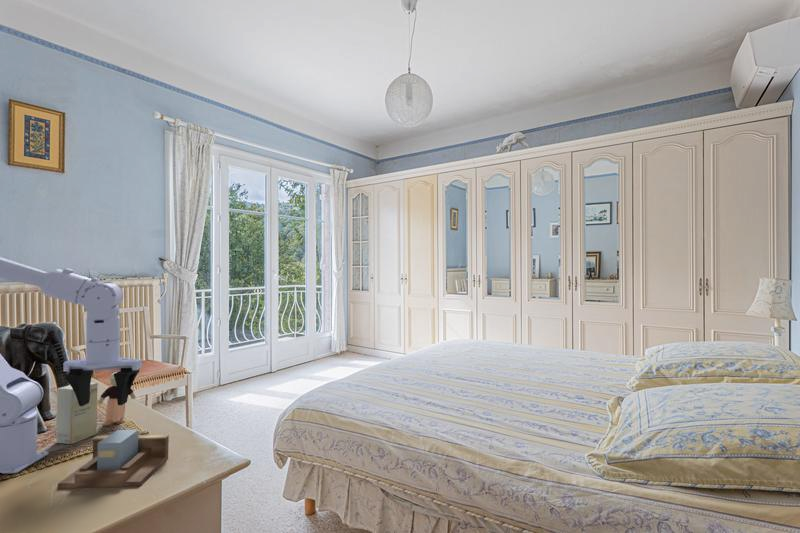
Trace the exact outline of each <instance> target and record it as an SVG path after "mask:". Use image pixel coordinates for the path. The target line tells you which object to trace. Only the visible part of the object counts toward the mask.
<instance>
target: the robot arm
mask: <svg viewBox="0 0 800 533" xmlns="http://www.w3.org/2000/svg"><path fill="white" fill-rule="evenodd" d="M74 272H75V271H74V269H71V268H63V269H61V268H57V269H53V270H52V271H48V272H47V271H45V270H41V269H40V268H39V269H38V268H35V267H32V266H30V265H26V264H24V263H20V262H17V261H14V260H10V259H9V258H8V259H7V258H6V257H2V256H0V278H2V279H6V280H9V281H14V282H18V283H21V284H25V285H30V286H35V287H37V288H39V290H40V291H41V292H42V293H43V295H44V296H46V297H50V298H54V299H58V300H61V301H64V302H67V303H71V304H75V305H79V306H83V307H84V308H85V309H86V319H85V320H86V332H85V333H86V339H85V340H86V341H85V342H86V344H85V345H86V346H85V347H86V348H85V349H86V351H85V352H86V353H85V355H86V357H85V358H86V359H73V360H72V359H70V360H67V361H64V362H63V364H62V365H63V372H68V373H66V374H65V375H64V379H65V381H66V382H67V383H68V385H71V387H72V388H73V390H74V392H75V395H76V397H77V400H78V403H79V406H84V405H86V404H88V403H89V401H90V383H91V382H92V377H93V373H94V371H116V372H117V373H115V372H114V373H115V374H114V378H115V381H116V386H117V403H118V405H123V404H125V405H126V404H127V403H128V399H129V396H130V395H129V392H130V389H132V386H133V383H134V381H135V379H137V378H136V377H137V376H138V374H139V373H140V369H142V368H143V359H142V358H126V357H121V348H120V347H121V317H120V304H121V303H122V301H123V299H124V292H123V290H122V288H121V287H120V286H119V285H117V284H115V283H113V282H112V281H103V282H99V281H100V278H98V277H95V276H93V277H87V276H84V275H80V274H78V273H77V274H76V273H74ZM118 370H119V371H118ZM43 397H44V389H43V387H42V385H41V384H40V383H39V382H38V381H35V380H33V379H31V378H30V377H28V376H27V375H26V374H25V372H23V371H21V370H19V369H17V368H14V367H12V366H11V365H10V364H9V362H7V361H6V359H5V358H4V356H3V355H2V354H1V353H0V472H1V473H2V474H16V473H17V474H18V473H19V472H21V471H22V470H24V469H26V468H28V467H29V466H31V465H32V464H34V463H35V462H37V461H39V460H41V459H43V458H45V457H46V456H48V455H49V452H48V451H38V450H37V449H38V410H37V406H38V405H39V404H40V402H41V401H42V399H43Z"/></svg>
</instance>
